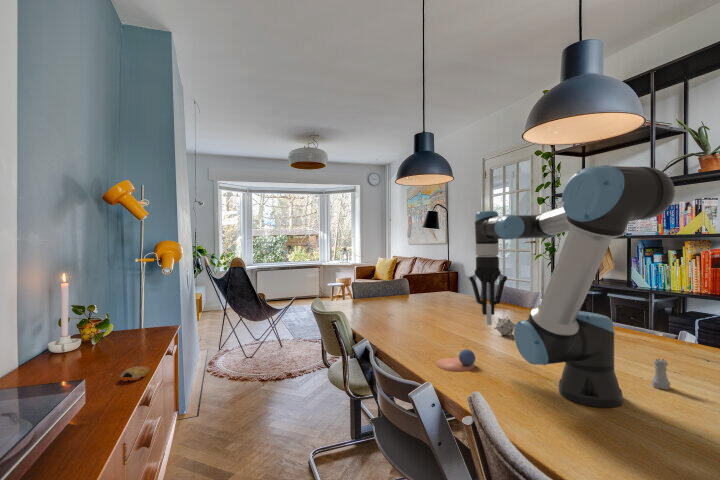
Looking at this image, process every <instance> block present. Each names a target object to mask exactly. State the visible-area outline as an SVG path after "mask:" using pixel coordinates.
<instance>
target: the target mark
mask: <svg viewBox="0 0 720 480" xmlns="http://www.w3.org/2000/svg"><path fill="white" fill-rule="evenodd" d="M436 366H437V367H438V368H439V369H442V370H446V371H451V372H467V371H471V370H473V369H474V368H475V367H476V366H475V362H474V363H473V364H472V365H470V366H465V365H463V364H462V363H461V362H460V360H459V357H445V358H441V359H438V360H437V361H436Z"/></svg>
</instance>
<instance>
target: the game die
mask: <svg viewBox="0 0 720 480" xmlns="http://www.w3.org/2000/svg"><path fill="white" fill-rule="evenodd" d="M497 319H498V321H497V323H496V326H495V327H493V329H495V330H497V331H498V332H499V333H500V334H501V335H502V337H504V336H507V335H511V337H513V336H514V334H513V333H514V328H515V325H516V324H514V323H513V322H512V321H511V319H510V318H509V316H506V317H505V318H500V317H498V318H497Z"/></svg>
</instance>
